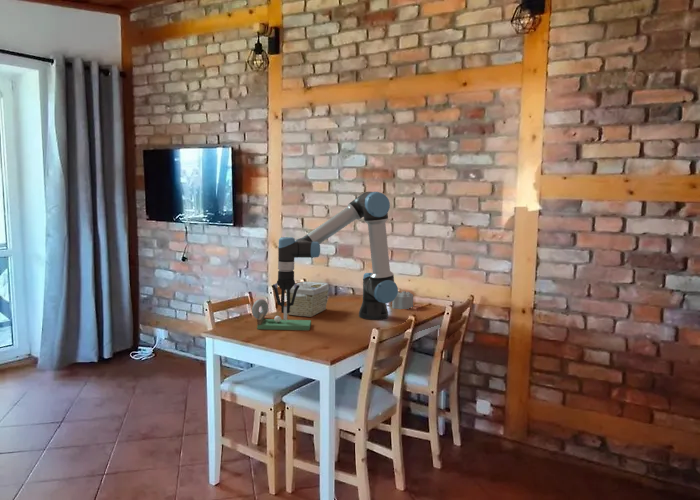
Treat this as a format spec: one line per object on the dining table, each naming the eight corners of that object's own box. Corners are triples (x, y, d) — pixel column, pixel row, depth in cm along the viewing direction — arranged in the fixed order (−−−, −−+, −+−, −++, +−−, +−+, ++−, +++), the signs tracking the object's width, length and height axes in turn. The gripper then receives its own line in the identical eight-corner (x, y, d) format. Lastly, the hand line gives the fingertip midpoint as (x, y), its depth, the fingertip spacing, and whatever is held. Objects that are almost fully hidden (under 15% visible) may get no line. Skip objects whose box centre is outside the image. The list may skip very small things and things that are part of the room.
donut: (255, 321, 282) (255, 301, 281) (250, 320, 284) (250, 300, 283) (269, 317, 290) (269, 298, 289) (264, 316, 292) (264, 297, 291)
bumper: (264, 319, 277) (264, 314, 277) (260, 325, 266) (260, 319, 265) (261, 319, 277) (261, 314, 277) (257, 325, 266) (257, 319, 265)
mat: (311, 324, 278) (311, 320, 278) (309, 330, 266) (309, 326, 266) (261, 323, 278) (261, 319, 277) (257, 329, 266) (257, 325, 266)
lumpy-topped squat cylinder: (389, 307, 321) (390, 292, 320) (400, 304, 332) (400, 289, 331) (406, 310, 315) (407, 294, 314) (416, 306, 326) (417, 291, 325)
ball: (282, 318, 273) (278, 313, 273) (282, 320, 270) (277, 315, 269) (278, 323, 273) (273, 318, 273) (277, 324, 270) (272, 319, 270)
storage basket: (302, 306, 318) (302, 280, 317) (329, 309, 313) (330, 282, 312) (284, 315, 296) (284, 287, 294) (313, 318, 291) (313, 289, 289)
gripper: (271, 271, 265) (270, 321, 268) (299, 271, 265) (298, 321, 268) (273, 268, 273) (272, 317, 275) (300, 269, 273) (299, 318, 275)
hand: (285, 319), depth 271 cm, fingers closed
